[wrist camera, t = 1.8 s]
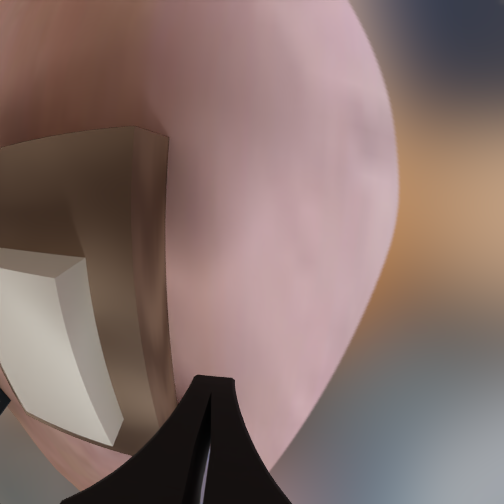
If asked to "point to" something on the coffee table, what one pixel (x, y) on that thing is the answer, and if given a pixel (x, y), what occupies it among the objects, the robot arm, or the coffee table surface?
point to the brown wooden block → (104, 252)
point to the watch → (3, 401)
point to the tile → (55, 344)
